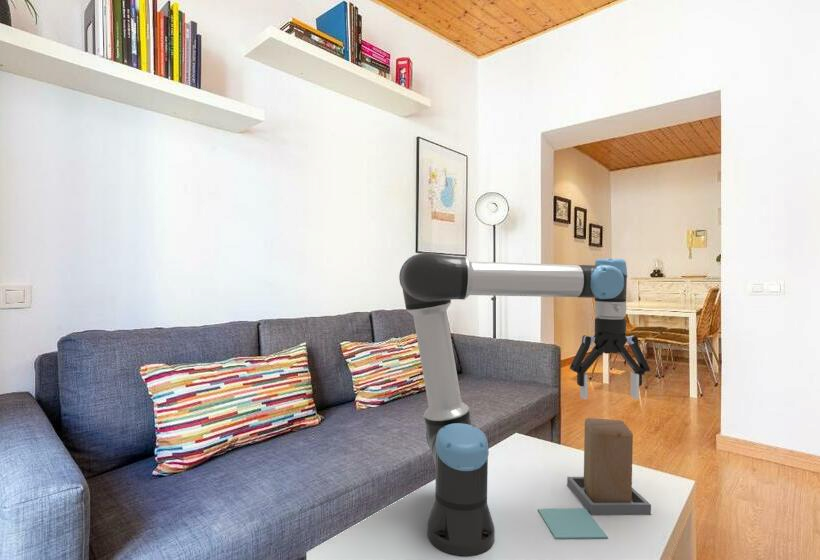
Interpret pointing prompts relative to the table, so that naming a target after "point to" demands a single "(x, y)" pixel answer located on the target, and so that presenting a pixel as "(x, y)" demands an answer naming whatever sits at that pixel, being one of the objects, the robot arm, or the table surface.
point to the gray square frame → (634, 508)
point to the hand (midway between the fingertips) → (609, 398)
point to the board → (571, 523)
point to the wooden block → (608, 461)
